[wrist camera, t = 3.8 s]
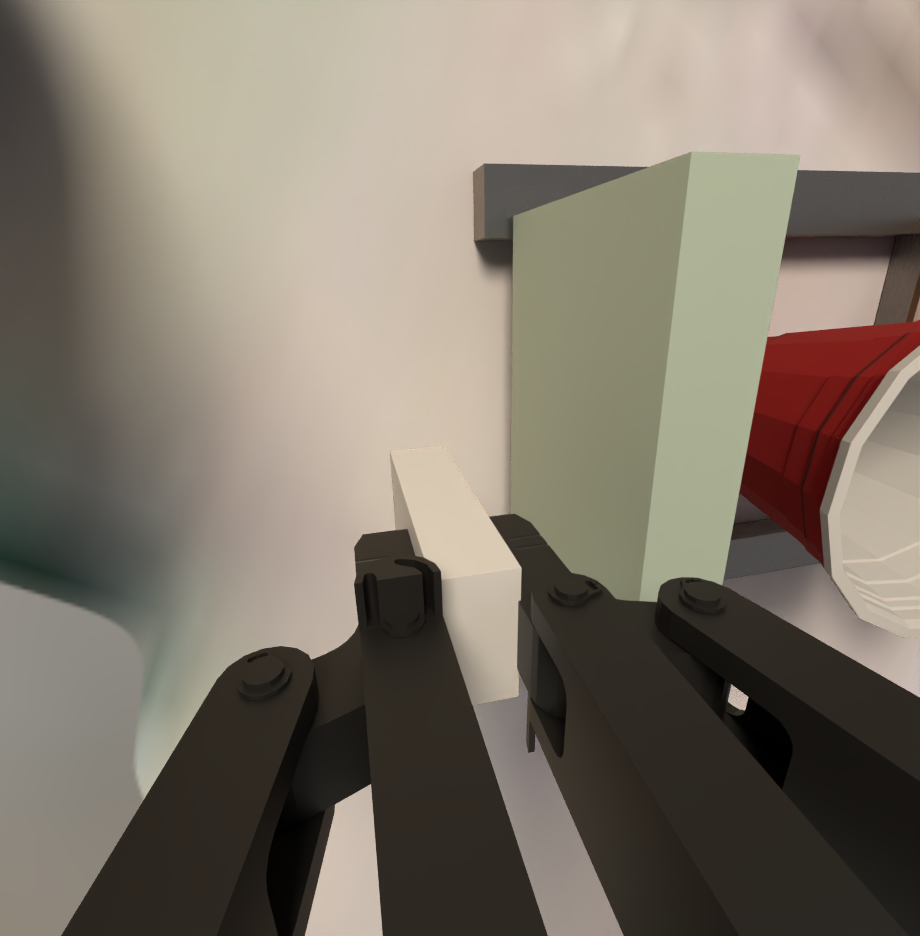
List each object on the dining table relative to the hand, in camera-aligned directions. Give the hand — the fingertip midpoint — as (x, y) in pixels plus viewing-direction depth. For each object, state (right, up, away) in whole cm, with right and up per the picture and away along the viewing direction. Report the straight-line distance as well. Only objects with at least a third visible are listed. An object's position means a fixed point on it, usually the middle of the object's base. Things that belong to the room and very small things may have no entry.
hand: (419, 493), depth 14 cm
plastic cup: (+14, +4, +11) cm, 18 cm away
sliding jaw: (+5, +3, +7) cm, 9 cm away
